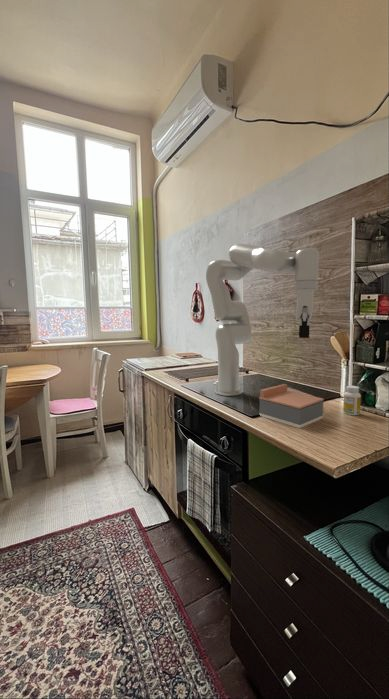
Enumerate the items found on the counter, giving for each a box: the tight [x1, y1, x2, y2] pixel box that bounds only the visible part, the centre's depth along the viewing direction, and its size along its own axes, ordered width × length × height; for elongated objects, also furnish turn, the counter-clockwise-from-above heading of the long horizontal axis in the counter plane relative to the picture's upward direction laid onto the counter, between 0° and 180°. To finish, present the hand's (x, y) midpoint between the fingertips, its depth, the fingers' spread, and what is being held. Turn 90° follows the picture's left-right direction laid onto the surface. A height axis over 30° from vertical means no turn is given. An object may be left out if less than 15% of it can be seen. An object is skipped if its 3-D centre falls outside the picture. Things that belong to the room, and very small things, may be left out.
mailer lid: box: [258, 383, 325, 409], centre depth 107 cm, size 16×15×3 cm
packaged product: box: [287, 386, 316, 397], centre depth 126 cm, size 18×5×10 cm
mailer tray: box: [258, 399, 324, 429], centre depth 108 cm, size 16×14×6 cm
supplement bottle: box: [342, 385, 362, 416], centre depth 111 cm, size 5×5×10 cm
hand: (304, 336), depth 108 cm, fingers open, 9 cm apart
